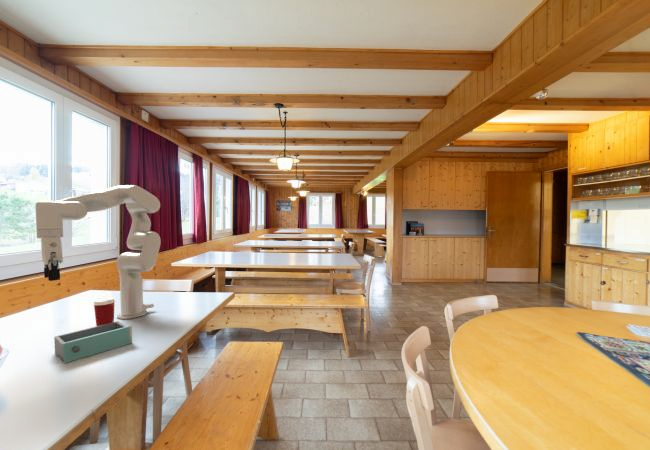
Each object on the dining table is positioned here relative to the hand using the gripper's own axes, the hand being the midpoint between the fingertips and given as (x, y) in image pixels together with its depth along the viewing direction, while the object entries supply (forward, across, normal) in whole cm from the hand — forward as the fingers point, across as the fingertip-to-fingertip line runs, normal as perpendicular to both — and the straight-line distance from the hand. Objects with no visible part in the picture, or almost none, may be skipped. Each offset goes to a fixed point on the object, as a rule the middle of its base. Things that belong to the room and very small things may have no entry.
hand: (52, 278), depth 117 cm
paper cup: (+26, +1, -16) cm, 31 cm away
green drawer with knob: (+26, -22, -10) cm, 35 cm away
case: (+26, -14, -9) cm, 31 cm away
